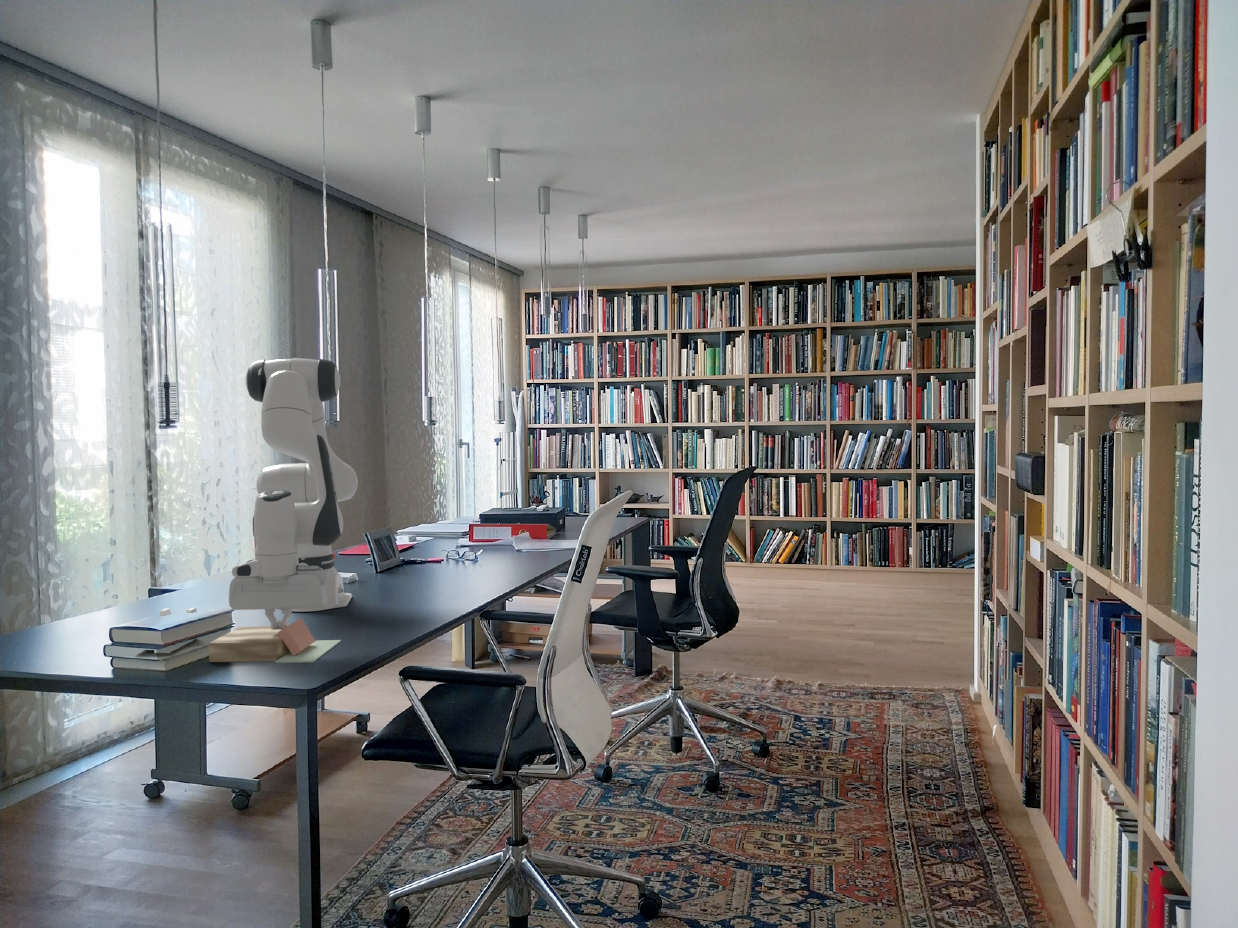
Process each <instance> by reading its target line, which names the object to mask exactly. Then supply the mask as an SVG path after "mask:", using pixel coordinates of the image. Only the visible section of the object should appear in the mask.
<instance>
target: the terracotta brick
mask: <svg viewBox="0 0 1238 928" xmlns="http://www.w3.org/2000/svg"><path fill="white" fill-rule="evenodd" d="M278 633H279V635H280V636H281V638H282V639H283V641H284V642H285V644H286V646H287V647H288V649H289V650H290V652H291V653H292V655H293V656H294V655H296V654H297V653H299V652H301V651H302V650H303V649H305V648H306V647H308V646H309V645H311V644H312V643H313V642H315V641H316V639H315V637H314V636H313V634H312V633H311V631H310V629H309V628H308V626H307V624H306V623H305V622H304V620H303V619H302V618H299V619H297V620H296V621H294V622H292V623H290V624H289V625H287V627H285V628H284V629H282V630H281V631H279V632H278Z"/></svg>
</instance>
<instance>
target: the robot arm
mask: <svg viewBox="0 0 1238 928" xmlns="http://www.w3.org/2000/svg"><path fill="white" fill-rule="evenodd" d="M341 381H342V380H341V375H340V372H339V370H338V366H337V365H336V364H335V363H334V361H332V360H328V359H323V358H319V359H314V358H313V359H312V358H301V357H292V358H281V359H270V360H266V359H260V360H255V361H253V362H252V363H251V364H250V365H249V366H248V368H247V371H246V373H245V387H246V390H247V391H248V392H247V393H248V395H249V397H250V398H251V399H253V400H254V401H255V402H259V403H262V404H261V414H260V415H261V418H260V419H261V420H260V422H261V423H260V424H261V435H262V438H263V440H264V442H266V444H267V445H268V446H269V447H271V448H272V449H273V450H274V451H276V452H278V453H279V454H283V455H285V456H288V457H290V458H295V459H297V460H300V461H303V463H300V462H299V463H279V464H274V465H269V466H266V467H264V468H262V470H260V472H259V474H258V475H257V478H256V484H255V485H256V491H257V493H258V495H257V496H256V497H255V504H254V511H253V517H252V535H253V536H252V537H254V539H255V541H256V542H255V549H254V559H250V560H247V561H245V562H242V563H240V564H238V565H235V566H234V567H232V570H231V574H232V576H233V578H232V580H231V581H230V583H229V591H228V605H229V607H230V608H231V609H232V610H233V611H244V610H245V611H246V610H248V611H249V610H250V611H252V610H254V611H255V610H256V611H257V610H264V614H265V616H266V617H267V619H268V621H269V622H270V626H271V629H272V630H282V629H284V628H285V627H287V626H288V621H289V618H290V616H291V615H292V613H293V612H297V613H298V612H299V613H300V612H301V613H302V612H319V611H324V610H331V609H336V608H345V607H347V606H348V605H349V603H350V601H351V599H352V598H353V594H352V593H349V592H344V578H343V577H342V575H341V574H340V573H339V571H338V570H337V569H336V567H335V566H336V564H335V561H336V558H337V554H336V552H332V551H333V550H332V545H333V544H334V543H336V542H337V541H338V540H339V539H340V538H341V536H342V535H343V531H344V519H343V515H342V511H341V509H340V507H339V503H341V502H343V501H348V500H351V499H352V498H353V497H354V495H355V494H356V492H357V489H358V485H359V480H358V476H357V473H356V471H355V469H354V468H353V467H352V466H351V465H349V464H348V463H346V462H345V461H343V460H341V458H339V457H338V456H337V454H335V452H334V450H333V449H332V447H331V446H330V443H329V441H328V436H327V435H328V434H327V430H326V423H325V422H326V421H325V420H326V418H325V411H324V410H325V409H324V403H325V402H327V401H331V400H333V399H335V398H336V397H337V396H338V393H339V390H340V387H341V384H342V382H341ZM323 402H324V403H323ZM276 610H281V613H282V615H284V616H283V617H282V618H281V619H279V620H278V619H277V617H276V616H275V614H274V613H275V612H276Z"/></svg>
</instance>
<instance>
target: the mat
mask: <svg viewBox="0 0 1238 928" xmlns="http://www.w3.org/2000/svg"><path fill="white" fill-rule="evenodd" d="M315 640H316V639H315ZM341 642H342V640H341V639H331V640H330V639H327V640H326V639H323V640H320V639H319V640H316V641H315V642H313V643H312V644H311V645H309V646H308V647H306V648H305V649H303V650H302V651H301V652H299V653H297V654H296V655H294V656H293V655H292V653H291V652H289V653H287V654H286V655H284V656H283V657H281V658H280V659H278V660H277V661H274V663H275V664H297V663H298V664H302V663H303V664H304V663H305V664H307V663H308V664H310V663H311V664H312V663H315V662H316V661H318V660H319V659H320V658H322V657H323V656H325V654H327V653H328V652H329V651H331V650H332V649H333V648H335V647H336V646H337V645H339V644H340V643H341Z"/></svg>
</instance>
